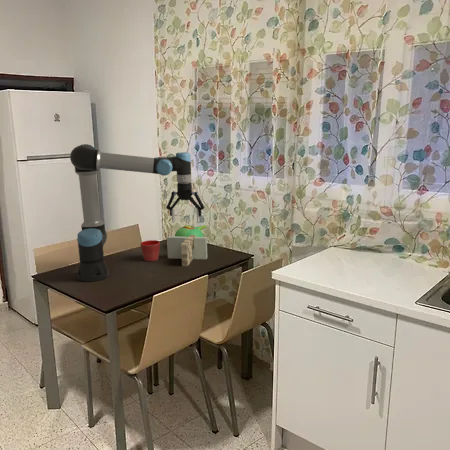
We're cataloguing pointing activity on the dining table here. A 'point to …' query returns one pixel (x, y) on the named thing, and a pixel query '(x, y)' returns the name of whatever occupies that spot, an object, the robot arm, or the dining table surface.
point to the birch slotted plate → (187, 250)
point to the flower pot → (150, 250)
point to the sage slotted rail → (197, 251)
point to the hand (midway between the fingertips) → (185, 222)
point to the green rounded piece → (190, 231)
